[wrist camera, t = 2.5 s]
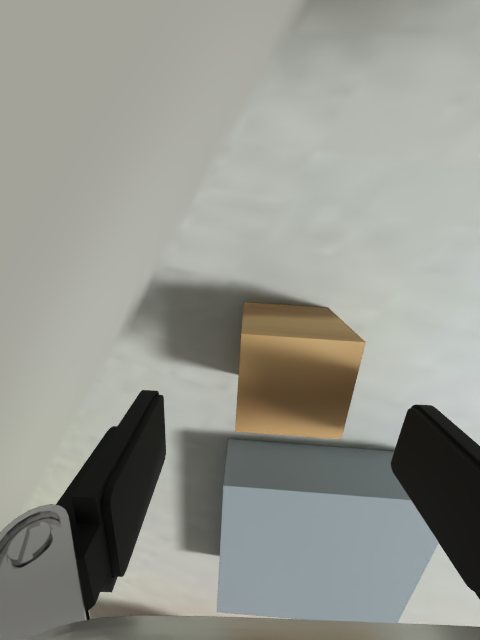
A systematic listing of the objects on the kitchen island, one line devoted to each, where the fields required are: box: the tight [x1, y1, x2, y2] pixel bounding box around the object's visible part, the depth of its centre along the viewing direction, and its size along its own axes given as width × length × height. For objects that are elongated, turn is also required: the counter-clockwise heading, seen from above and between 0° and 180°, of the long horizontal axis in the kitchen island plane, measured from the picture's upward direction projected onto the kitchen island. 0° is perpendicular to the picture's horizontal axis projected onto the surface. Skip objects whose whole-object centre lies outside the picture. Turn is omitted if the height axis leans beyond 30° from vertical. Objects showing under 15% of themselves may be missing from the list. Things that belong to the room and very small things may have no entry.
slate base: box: [217, 439, 439, 623], centre depth 19 cm, size 14×14×4 cm
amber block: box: [235, 302, 366, 439], centre depth 13 cm, size 5×5×5 cm
